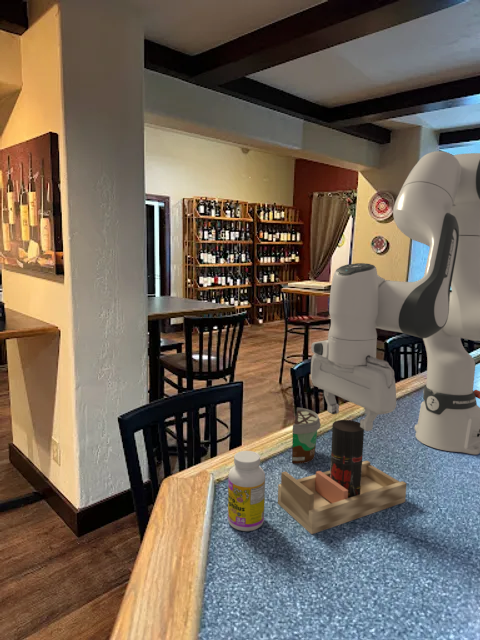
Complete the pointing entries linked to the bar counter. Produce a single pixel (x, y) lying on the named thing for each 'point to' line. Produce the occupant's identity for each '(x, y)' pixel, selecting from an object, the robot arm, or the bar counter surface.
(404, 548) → the bar counter surface
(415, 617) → the bar counter surface
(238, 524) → the supplement bottle
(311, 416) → the food container
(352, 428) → the deodorant
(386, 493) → the tray
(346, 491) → the plate
